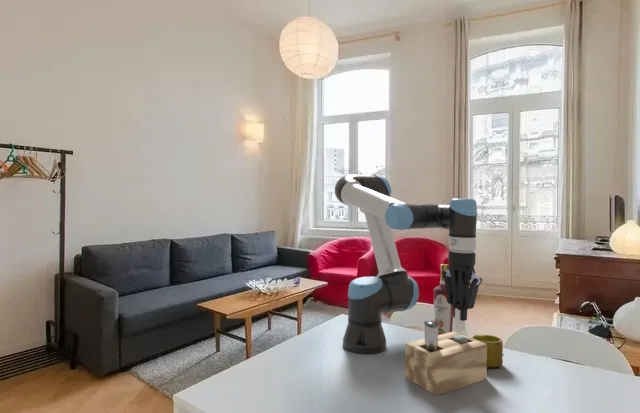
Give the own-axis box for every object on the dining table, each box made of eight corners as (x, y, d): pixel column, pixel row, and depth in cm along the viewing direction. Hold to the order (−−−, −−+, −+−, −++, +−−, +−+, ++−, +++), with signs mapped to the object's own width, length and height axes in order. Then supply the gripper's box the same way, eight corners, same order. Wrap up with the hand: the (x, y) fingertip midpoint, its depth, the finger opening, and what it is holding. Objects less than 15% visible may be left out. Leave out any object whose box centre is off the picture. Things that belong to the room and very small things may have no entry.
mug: (513, 367, 115) (501, 333, 117) (478, 374, 117) (467, 340, 119) (505, 358, 126) (494, 328, 129) (473, 365, 128) (463, 335, 131)
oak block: (405, 377, 112) (405, 343, 112) (453, 362, 122) (453, 331, 122) (436, 395, 101) (437, 358, 101) (486, 378, 111) (487, 344, 111)
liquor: (429, 342, 139) (431, 265, 138) (436, 337, 145) (437, 262, 144) (450, 347, 134) (451, 267, 134) (456, 341, 140) (457, 264, 140)
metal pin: (420, 353, 109) (421, 321, 109) (430, 350, 111) (431, 319, 111) (431, 358, 106) (431, 325, 106) (441, 355, 108) (442, 323, 108)
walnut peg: (449, 367, 115) (450, 337, 115) (459, 364, 117) (459, 334, 117) (460, 372, 112) (461, 341, 112) (470, 369, 114) (470, 339, 114)
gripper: (435, 248, 118) (433, 325, 118) (472, 255, 106) (469, 339, 107) (453, 247, 121) (451, 321, 122) (489, 253, 110) (487, 335, 111)
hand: (459, 330), depth 115 cm, fingers closed
